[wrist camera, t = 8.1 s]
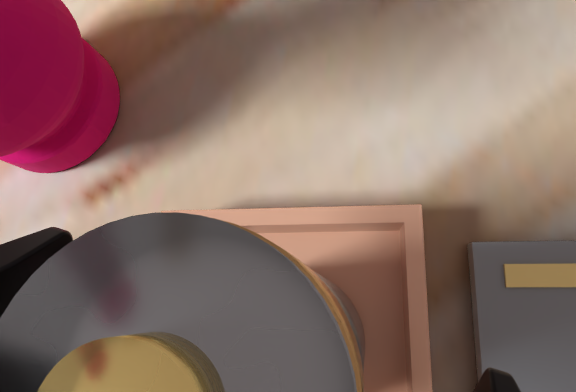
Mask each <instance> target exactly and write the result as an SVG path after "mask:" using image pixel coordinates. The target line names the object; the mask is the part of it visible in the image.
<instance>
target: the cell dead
mask: <svg viewBox="0 0 576 392" xmlns="http://www.w3.org/2000/svg"><path fill="white" fill-rule="evenodd" d="M364 358H365V335H364V329H363V325H362V322H361V319H360V316H359V314H358V312H357V310H356V308H355V306H354V304H353V303H352V301H351V300H350V299H349V297H348V296H347V295H346V294H345V293H344V292H343V291H342V290H341V289H340V288H339V287H338V286H336V285H335V284H334V283H333V282H331V281H329V280H328V279H326V278H324V277H323V276H321V275H319V274H318V273H316V272H314V271H313V270H312V269H310V268H309V267H308V266H307V265H305V264H304V263H303V262H302V261H300V260H299V259H298V258H296V257H295V256H293V255H292V254H290V253H289V252H287V251H285V250H284V249H282V248H281V247H279V246H278V245H276V244H274V243H273V242H271V241H269V240H268V239H266V238H264V237H263V236H261V235H259V234H258V233H256V232H253V231H251V230H249V229H246V228H244V227H241V226H239V225H237V224H234V223H230V222H226V221H222V220H219V219H215V218H209V217H206V216H202V215H195V214H187V213H179V212H171V213H150V214H143V215H136V216H131V217H127V218H124V219H120V220H117V221H113V222H110V223H107V224H105V225H103V226H101V227H98V228H96V229H94V230H91V231H89V232H87V233H85V234H84V235H82V236H80V237H79V238H77V239H75V240H74V241H72V242H70V243H68V244H67V245H66V246H64V247H63V248H62V249H60V250H59V251H58V252H57V253H55V254H54V255H53V256H51V257H50V258H49V259H48V260H47V261H46V262H45V263H44V264H43V265H42V266H40V267H39V268H38V269H37V270H36V271H35V272H34V273H33V274H32V275H31V276H30V278H29V279H28V280H27V281H26V282H25V284H24V285H23V286H22V287H21V289H20V290H19V291H18V292H17V293H16V295H15V296H14V298H13V299H12V301H11V302H10V304H9V305H8V307H7V308H6V310H5V312H4V313H3V315H2V316H1V318H0V392H364V376H363V371H364Z"/></svg>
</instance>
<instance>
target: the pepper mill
mask: <svg viewBox="0 0 576 392" xmlns="http://www.w3.org/2000/svg"><path fill="white" fill-rule="evenodd" d="M119 104H120V94H119V86H118V82H117V78H116V76H115V74H114V72H113V70H112V68H111V66H110V65H109V63H108V62H107V61H106V60H105V59H104V57H102V56H101V55H100V54H99V53H98V52H97V51H96V50H95V49H94V48H93V47H92V46H91V45H90V44H89V43H87V42H86V41H85V40H84V39H83V38H82V37H81V35H80V31H79V29H78V26H77V23H76V21H75V19H74V18H73V16H72V14H71V13H70V11H69V10H68V8H67V7H66V6H65V4H64V3H63V2H62V1H61V0H0V160H2V161H5V162H7V163H10V164H12V165H15V166H18V167H20V168H23V169H25V170H29V171H32V172H38V173H52V172H58V171H62V170H66V169H68V168H71V167H73V166H76V165H77V164H79V163H81V162H82V161H84V160H86V159H87V158H89V157H90V156H91V155H92V154H93V153H94V152H95V151H96V150H97V149H98V148H99V147H100V146H101V145H102V144H103V143H104V142H105V141H106V139H107V137H108V135H109V133H110V132H111V130H112V128H113V126H114V124H115V122H116V119H117V115H118V110H119Z"/></svg>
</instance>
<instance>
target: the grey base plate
mask: <svg viewBox="0 0 576 392" xmlns="http://www.w3.org/2000/svg"><path fill="white" fill-rule="evenodd" d="M467 247H468V261H469V274H470V287H471V300H472V313H473V326H474V339H475V352H476V365H477V378H478V382H479V380H480V378H481V376H482V375H483V373H484V371H485V370H486V369H487V368H489V367H491V368H495V369H498V370H501V371H504V372H507V373H509V374H510V375H512V377H513V378H514V380H515V382H516V383H517V385H518V387H519V389H520V391H521V392H576V241H512V242H471V243H469V244H467Z"/></svg>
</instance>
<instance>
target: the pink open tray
mask: <svg viewBox="0 0 576 392" xmlns="http://www.w3.org/2000/svg"><path fill="white" fill-rule="evenodd" d="M171 212H179V213H187V214H195V215H202V216H206V217H209V218H215V219H219V220H222V221H226V222H230V223H234V224H237V225H239V226H241V227H244V228H246V229H249V230H251V231H253V232H256V233H258V234H259V235H261V236H263V237H264V238H266V239H268V240H269V241H271V242H273V243H274V244H276V245H278V246H279V247H281V248H282V249H284V250H285V251H287V252H289V253H290V254H292V255H293V256H295V257H296V258H298V259H299V260H300V261H302V262H303V263H304V264H305V265H307V266H308V267H309V268H310V269H312V270H313V271H314V272H316V273H318V274H319V275H321V276H323V277H324V278H326V279H328V280H329V281H331V282H333V283H334V284H335V285H336V286H338V287H339V288H340V289H341V290H342V291H343V292H344V293H345V294H346V295H347V296H348V297H349V299H350V300H351V301H352V303H353V304H354V306H355V308H356V310H357V312H358V314H359V316H360V319H361V322H362V325H363V329H364V335H365V358H364V371H363V376H364V392H432V374H431V357H430V339H429V322H428V304H427V287H426V269H425V252H424V234H423V217H422V204H416V205H376V206H336V207H296V208H257V209H217V210H177V211H161V213H171Z"/></svg>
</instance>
